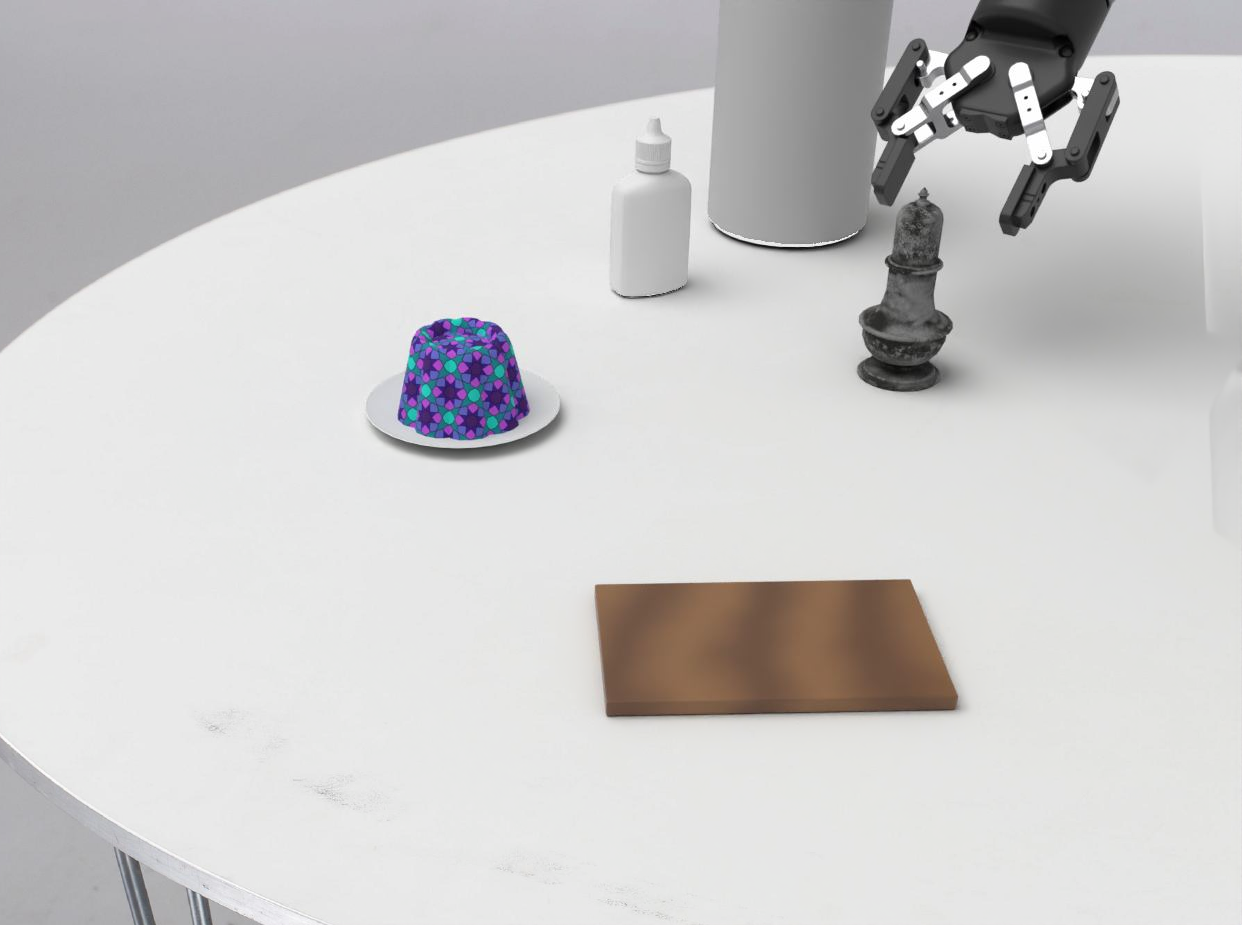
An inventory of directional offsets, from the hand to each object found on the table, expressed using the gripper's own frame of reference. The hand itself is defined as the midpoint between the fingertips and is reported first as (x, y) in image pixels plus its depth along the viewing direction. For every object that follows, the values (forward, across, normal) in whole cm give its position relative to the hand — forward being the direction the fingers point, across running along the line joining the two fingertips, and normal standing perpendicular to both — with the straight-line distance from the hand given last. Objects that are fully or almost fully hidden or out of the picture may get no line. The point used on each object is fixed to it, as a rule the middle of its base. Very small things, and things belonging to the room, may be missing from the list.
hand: (942, 214), depth 95 cm
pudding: (+25, -18, -11) cm, 32 cm away
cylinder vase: (-5, -20, +18) cm, 28 cm away
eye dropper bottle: (+8, -21, +6) cm, 23 cm away
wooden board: (+32, +10, -18) cm, 38 cm away
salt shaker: (+9, 0, +5) cm, 10 cm away
